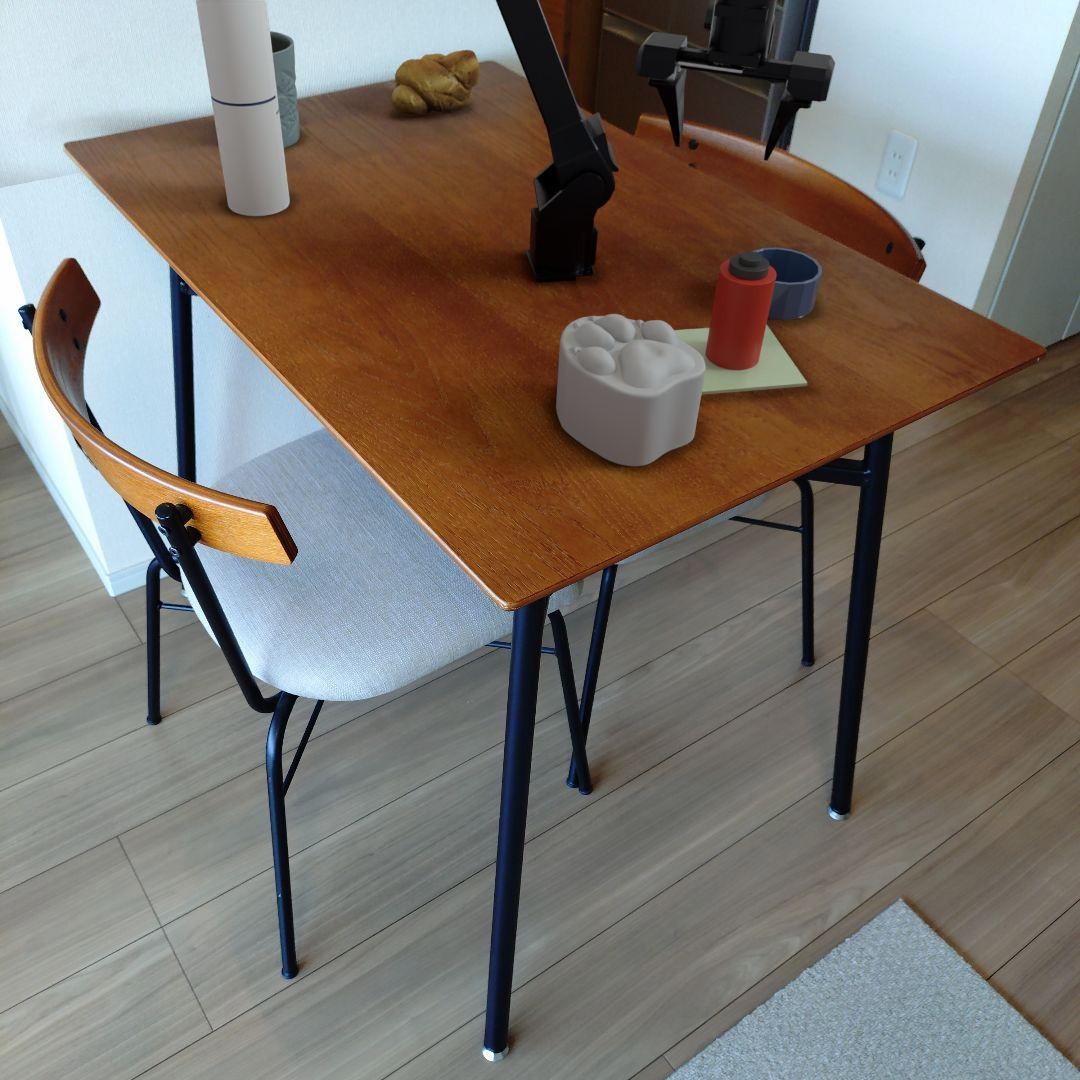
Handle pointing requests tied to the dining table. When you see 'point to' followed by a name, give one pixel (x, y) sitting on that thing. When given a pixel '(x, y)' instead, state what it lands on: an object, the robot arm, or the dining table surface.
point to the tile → (766, 374)
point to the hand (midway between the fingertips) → (721, 152)
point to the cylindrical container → (245, 104)
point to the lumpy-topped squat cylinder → (628, 387)
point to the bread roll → (435, 83)
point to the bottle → (740, 311)
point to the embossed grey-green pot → (286, 86)
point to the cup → (792, 282)
